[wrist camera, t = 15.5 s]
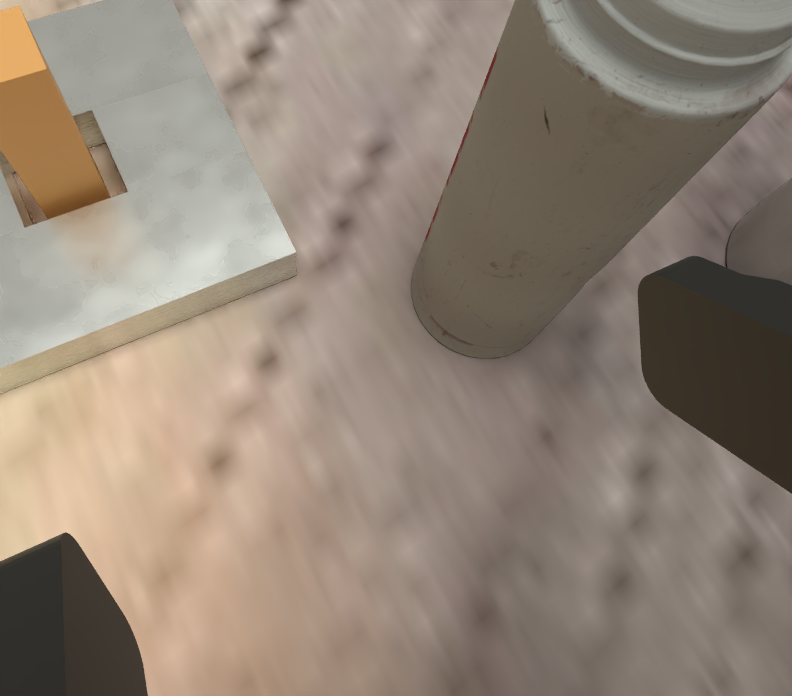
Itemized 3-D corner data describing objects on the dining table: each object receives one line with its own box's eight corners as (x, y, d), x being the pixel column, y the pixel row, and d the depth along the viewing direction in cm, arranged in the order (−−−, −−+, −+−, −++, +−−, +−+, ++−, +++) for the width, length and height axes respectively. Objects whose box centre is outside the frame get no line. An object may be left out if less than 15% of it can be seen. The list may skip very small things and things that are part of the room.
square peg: (96, 166, 40) (19, 5, 29) (117, 214, 40) (47, 68, 28) (38, 185, 40) (-65, 28, 28) (59, 235, 39) (-38, 94, 28)
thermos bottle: (381, 281, 41) (539, -277, 14) (482, 202, 43) (780, -401, 16) (477, 387, 39) (847, -1, 13) (576, 301, 42) (1059, -178, 15)
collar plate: (172, 21, 44) (163, -17, 41) (296, 275, 40) (296, 252, 37) (-148, 116, 40) (-182, 80, 37) (-43, 410, 36) (-72, 396, 33)
